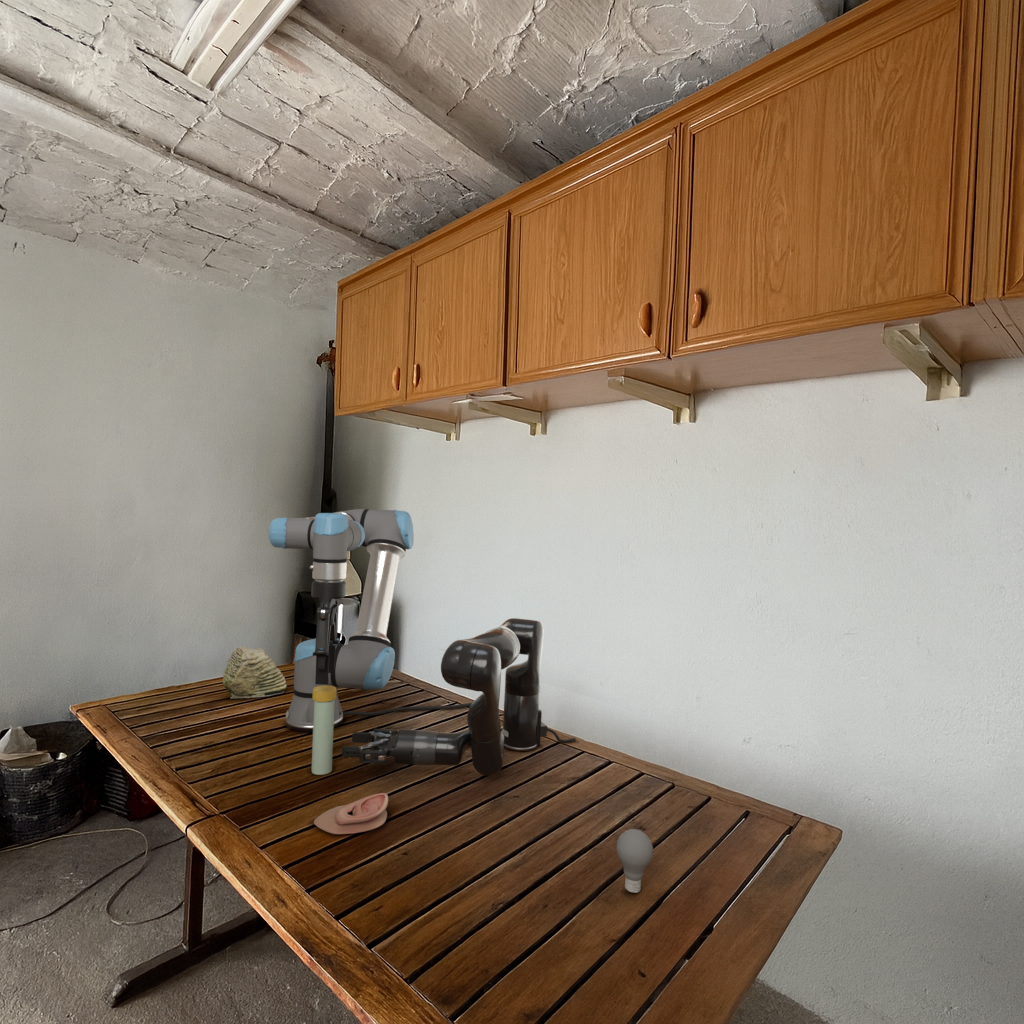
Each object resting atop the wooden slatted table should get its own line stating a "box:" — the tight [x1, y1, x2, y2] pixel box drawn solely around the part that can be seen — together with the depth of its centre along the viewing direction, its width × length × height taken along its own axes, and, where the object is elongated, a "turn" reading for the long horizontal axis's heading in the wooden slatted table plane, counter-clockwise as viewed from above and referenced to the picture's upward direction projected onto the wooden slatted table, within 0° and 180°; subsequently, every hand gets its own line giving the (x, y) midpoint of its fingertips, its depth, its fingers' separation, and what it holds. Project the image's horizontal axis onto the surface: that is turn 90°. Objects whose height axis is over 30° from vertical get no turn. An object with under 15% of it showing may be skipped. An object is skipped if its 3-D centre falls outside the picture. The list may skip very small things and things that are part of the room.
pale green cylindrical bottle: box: [310, 700, 335, 776], centre depth 146 cm, size 4×4×19 cm
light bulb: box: [615, 828, 654, 894], centre depth 106 cm, size 6×6×10 cm
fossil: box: [222, 646, 288, 699], centre depth 198 cm, size 9×18×15 cm, turn 132°
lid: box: [313, 685, 338, 702], centre depth 146 cm, size 5×5×2 cm
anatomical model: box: [313, 792, 389, 835], centre depth 124 cm, size 13×4×12 cm
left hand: (325, 678), depth 146 cm, fingers open, 8 cm apart
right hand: (347, 743), depth 146 cm, fingers open, 8 cm apart
